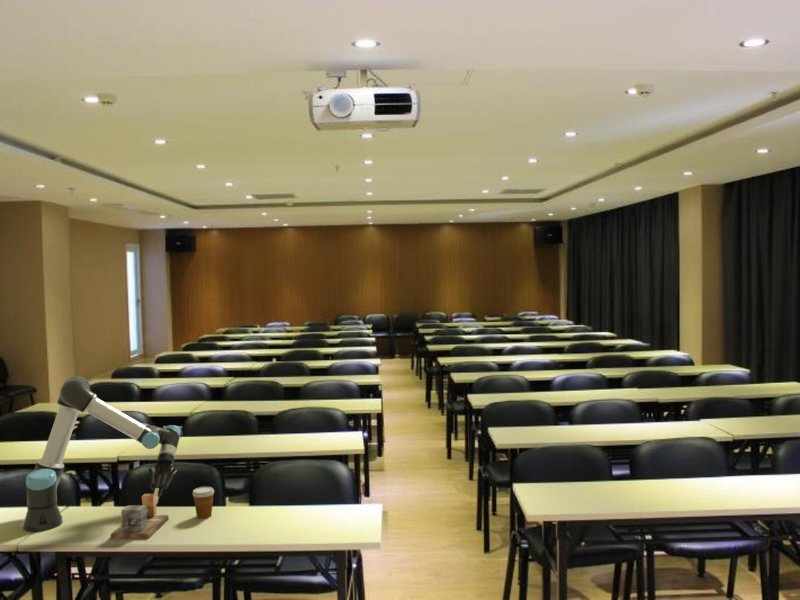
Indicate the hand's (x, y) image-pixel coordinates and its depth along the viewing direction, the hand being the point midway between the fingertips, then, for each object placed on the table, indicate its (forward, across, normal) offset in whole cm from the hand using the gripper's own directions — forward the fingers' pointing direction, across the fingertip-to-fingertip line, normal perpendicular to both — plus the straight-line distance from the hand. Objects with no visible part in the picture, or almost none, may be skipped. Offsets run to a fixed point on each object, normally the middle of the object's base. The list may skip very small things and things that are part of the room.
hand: (154, 502), depth 315 cm
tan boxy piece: (+10, 0, +5) cm, 11 cm away
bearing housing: (+16, 0, +8) cm, 18 cm away
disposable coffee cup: (+5, -23, -4) cm, 24 cm away
